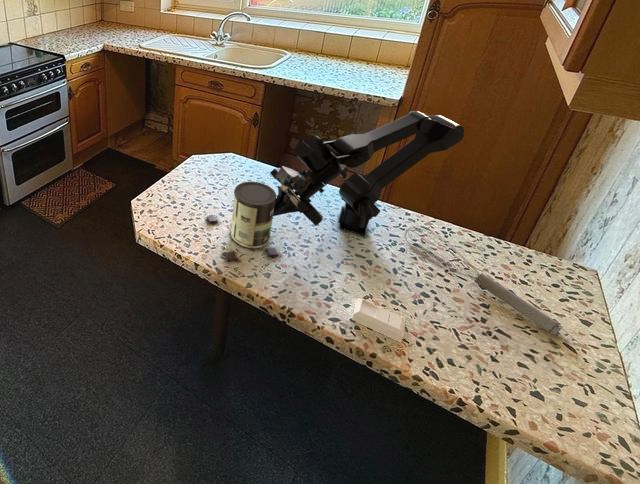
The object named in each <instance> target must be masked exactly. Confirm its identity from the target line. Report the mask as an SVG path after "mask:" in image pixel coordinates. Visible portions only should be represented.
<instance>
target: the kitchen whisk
mask: <svg viewBox="0 0 640 484" xmlns="http://www.w3.org/2000/svg"><path fill="white" fill-rule="evenodd" d="M411 229H413V230H416V231H419V232H421V233H422V234H424V235H426V236H428V237H429V238H430V239H432V240H433V241H434V242H436V243H438V244H439V245H440V246H441V247H443V248H444V249H446V250H447V251H448V252H449V253H450V254H449V253H447V252H446V251H445V250H444V249H442V248H440V247H439V246H437V245H436V244H435V243H433V242H431V241H430V240H428V239H427V238H426V237H424V236H423V235H420V234H419V233H417V232H415V231H413V230H411ZM422 230H423V231H426V232H427V233H429V234H431V235H433V236H435V237H436V238H437V239H439V240H440V241H441V242H443V243H444V244H445V245H447V246H449V248H450V249H451V250H453V251H454V252H455V254H457V255H458V256H460V258H461V259H463V260H464V261H465V262H466V263H467V264H466V263H465V262H464V261H463V260H461V259H460V258H459V257H458V256H456V255H455V254H454V253H452V251H450V250H449V249H448V248H446V247H445V246H444V245H443V244H441V243H440V242H438V241H437V240H436V239H434V238H433V237H431V236H430V235H429V234H427V233H425V232H423V231H422ZM410 231H411V232H412V233H414V234H416V235H418V236H419V237H421V238H423V239H425V240H426V241H428V242H429V243H430V244H433V245H434V246H435V247H437V248H438V249H439V250H441V251H442V252H444V253H445V254H447V256H449V257H450V258H452V259H454V260H455V261H456V262H457V263H459V264H461V265H462V266H463V267H465V268H463V267H461V266H460V265H458V264H456V263H455V262H453V261H451V260H449V259H448V258H446V257H445V256H443V255H442V254H440V253H438V252H436V251H435V250H434V249H432V248H430V247H429V246H427V245H426V244H424V243H423V242H422V241H420V240H418V239H417V238H416V237H414V236H413V235H411V234H410ZM407 235H408V236H409V238H410V239H411V240H412V241H413V242H414V244H416V245H417V246H419V247H420V248H421V249H423V250H424V251H426V252H427V253H428V254H430V255H432V256H433V257H435V258H437V259H439V260H440V261H442V262H444V263H445V264H444V263H442V262H440V261H438V260H436V259H434V258H432V257H430V256H428V255H427V254H425V253H423V252H422V251H420V250H419V249H418V248H416V247H414V246H413V245H412V244H411V243H410V242H409V240H408V239H407ZM403 236H404V239H405V241H406V242H407V243H408V245H409V246H410V247H411V249H414V251H416V252H417V254H418V253H419V255H421V256H423V257H425V258H426V259H428V260H429V261H432V262H433V263H435V264H437V265H439V266H442V267H443V268H446V269H448V270H450V271H453V272H455V273H457V274H460V275H463V276H464V277H468V278H470V279H472V280H474V283H475V284H477V285H478V286H480V287H481V288H483V289H484V290H486V291H488V292H489V293H490V294H492V295H493V296H495V297H496V298H498V299H499V300H501V301H502V302H503V303H505V304H506V305H508V306H509V307H511V308H512V309H514V310H516V311H517V312H518V313H520V314H521V315H522V316H524V317H526V318H527V319H529V320H530V321H532V323H534V324H536V326H537V325H538V326H539V327H540V328H542V329H543V330H545V331H546V332H547V333H551V334H553V336H556V335H557V336H559V337H561V338H562V339H565V340H566V341H569V342H573V341H574V337H572V336H571V334H570V333H569V332H568V331H566V330H565V329H563V328H564V327H563V325H561V324H560V323H558V321H557V320H555V319H553V318H552V317H550V316H549V315H547V314H546V313H545V312H543V311H541V310H539V309H538V308H537V307H535V306H534V305H532V304H530V303H529V302H527V301H526V300H524V299H523V298H521V297H520V296H519V295H517V294H515V293H514V292H512V291H510V290H509V289H508V288H506V287H505V286H503V285H501V284H500V283H498V282H497V281H496V280H494V279H492V278H491V277H489V276H488V275H486V274H485V273H483V272H482V273H480V272H479V271H477V269H476V268H475V267H474V266H473V265H472V264H471V262H469V261H468V260H467V259H466V258H465V257H464V256H463V254H461V253H460V252H459V251H458V250H457V249H456V248H454V247H453V245H451V244H450V243H449V242H448V241H446V240H445V239H444V238H442V237H441V236H440V235H439V234H437V233H435V232H434V231H433V230H431V229H429V228H427V227H425V226H421V225H418V228H416V225H412V226H410V227H409V228H408V229H406V230H405V232H404V234H403ZM415 240H416V241H417V242H418V243H417V242H416V241H415ZM419 243H420V244H421V245H423V246H425V247H426V248H428V249H429V250H432V252H433V253H436V254H437V255H438V256H439V257H441V258H444V259H445V260H447V261H448V262H450V263H452V264H454V265H455V266H457V267H455V266H454V265H452V264H450V263H448V262H446V261H445V260H443V259H441V258H439V257H438V256H436V255H434V254H433V253H431V252H429V251H428V250H426V249H425V248H424V247H423V246H421V245H419ZM451 254H452V255H453V256H452V255H451ZM454 256H455V258H454ZM456 258H457V259H458V260H457V259H456ZM460 261H461V262H460ZM446 264H447V265H446ZM448 265H449V266H448ZM450 266H451V267H450ZM466 266H467V267H466ZM459 268H460V269H459ZM461 269H462V270H461ZM466 269H467V270H466ZM468 270H469V271H470V272H469V271H468ZM561 330H562V331H564V333H566V334H567V335H569V337H570V338H571V339H569V338H566V337H564V336H562V335H560V334H558V333H559V332H560V331H561Z"/></svg>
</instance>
